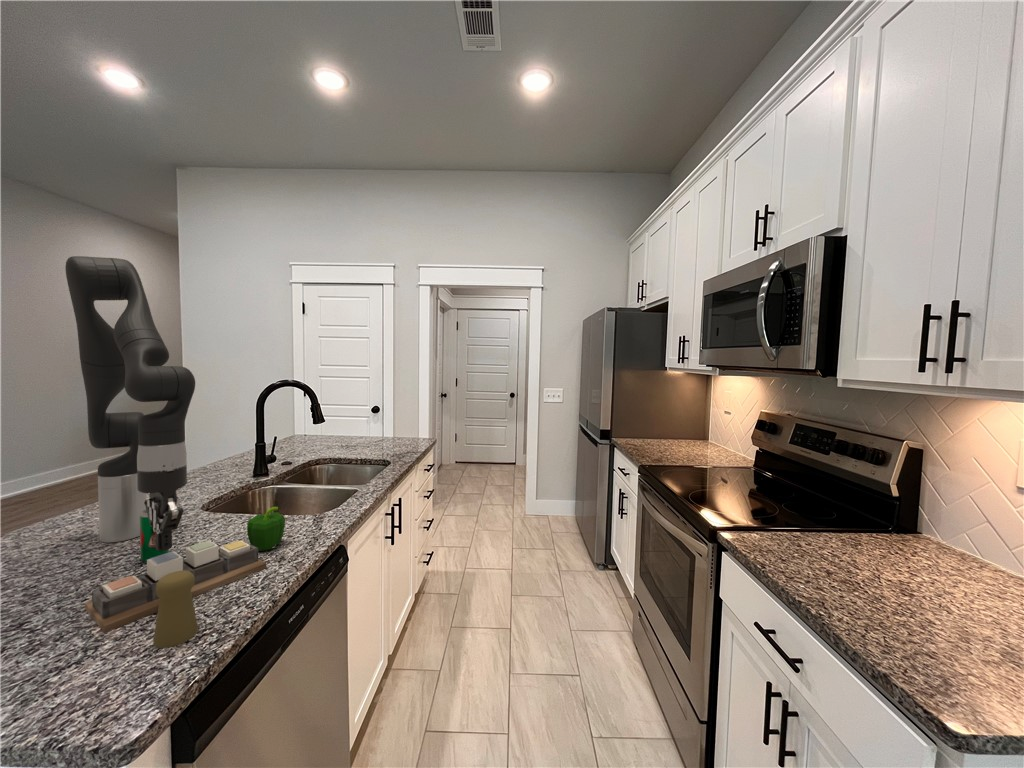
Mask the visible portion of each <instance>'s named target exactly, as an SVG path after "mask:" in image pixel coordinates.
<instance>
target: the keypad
mask: <svg viewBox="0 0 1024 768" xmlns="http://www.w3.org/2000/svg"><path fill="white" fill-rule="evenodd" d="M242 541H243V542H245V543H247V544H249V545H250V550H248V551H245V552H242V553H239V554H236V555H233V556H231V557H226V556H224V555H223V554H221V553H220V548H219V559H217V560H214V561H211V562H209V563H206V564H203V565H200V566H197V567H193V566H192V565H190V564H189V563H187V562H186V559H184V560H183V570H185V571H190V572H191V573H192V574H193V575H194V578H195V582H194V585H193V587H192V589H191V594H192V599H193V598H196V597H198V596H200V595H203V594H205V593H207V592H210V591H212V590H215V589H218V588H220V587H222V586H225V585H227V584H230V583H233V582H235V581H237V580H240V579H243V578H245V577H248V576H251V575H252V574H255V573H257V572H260V571H262V570H265V569H267V563H266V561H263V560H261V559H260V558H259V550H258V548H257V547H255V546H253V545H251V544H250V542H249V543H248V542H247V541H245V540H242ZM135 577H136V578H138V579H139V580H140V581H141V582H142V588H139V589H136V590H134V591H131V592H128V593H125V594H122V595H119V596H117V597H114V598H111V599H107V598H106V597H105V596H104V595H103V586H102V587H99V588H97V589H93V590H92V591H91V595H92V598H91V600H89V601H86V602H85V603H84V610H85V611H86V612H87V614H88V615H89V616H90V617H91V618H92V619H93V621H94V622H95V623H96V624H97V626H98V627H99V628H100V630H102V632H103V633H108V632H110V631H113V630H115V629H117V628H120V627H123V626H125V625H127V624H131V623H133V622H136V621H138V620H140V619H143V618H145V617H148V616H150V615H152V614H155V613H158V607H159V601H160V598H159V597H158V596H157V594H156V592H155V587H156V584H157V582H158V581H159V580H157V581H155V580H154V579H152V578H151V577H150V576H149V575H147V572H145V573H142V574H139V575H135Z"/></svg>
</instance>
